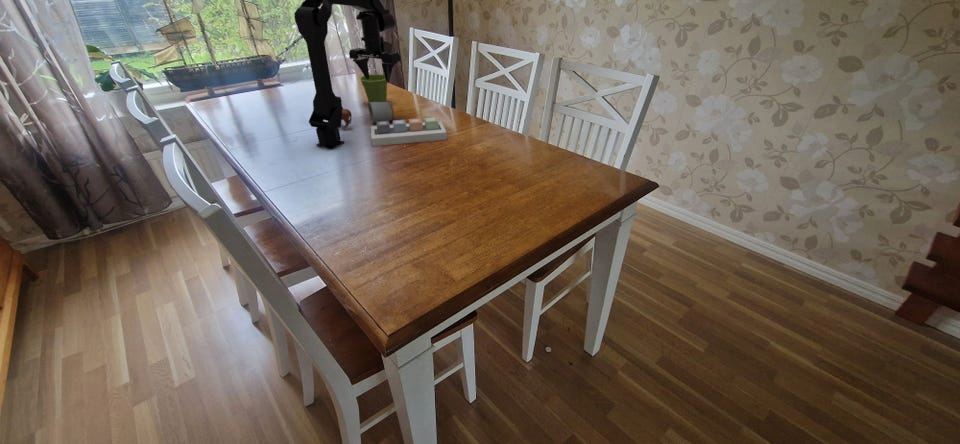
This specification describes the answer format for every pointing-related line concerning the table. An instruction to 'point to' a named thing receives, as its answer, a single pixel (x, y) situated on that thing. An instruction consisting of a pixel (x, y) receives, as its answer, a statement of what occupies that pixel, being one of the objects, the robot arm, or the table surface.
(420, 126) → the key terracotta
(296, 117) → the table surface
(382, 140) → the keypad
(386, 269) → the table surface
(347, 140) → the table surface
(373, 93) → the plant pot
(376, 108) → the ceramic mug
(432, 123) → the key sage
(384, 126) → the key charcoal
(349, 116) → the bull figurine
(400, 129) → the key slate
